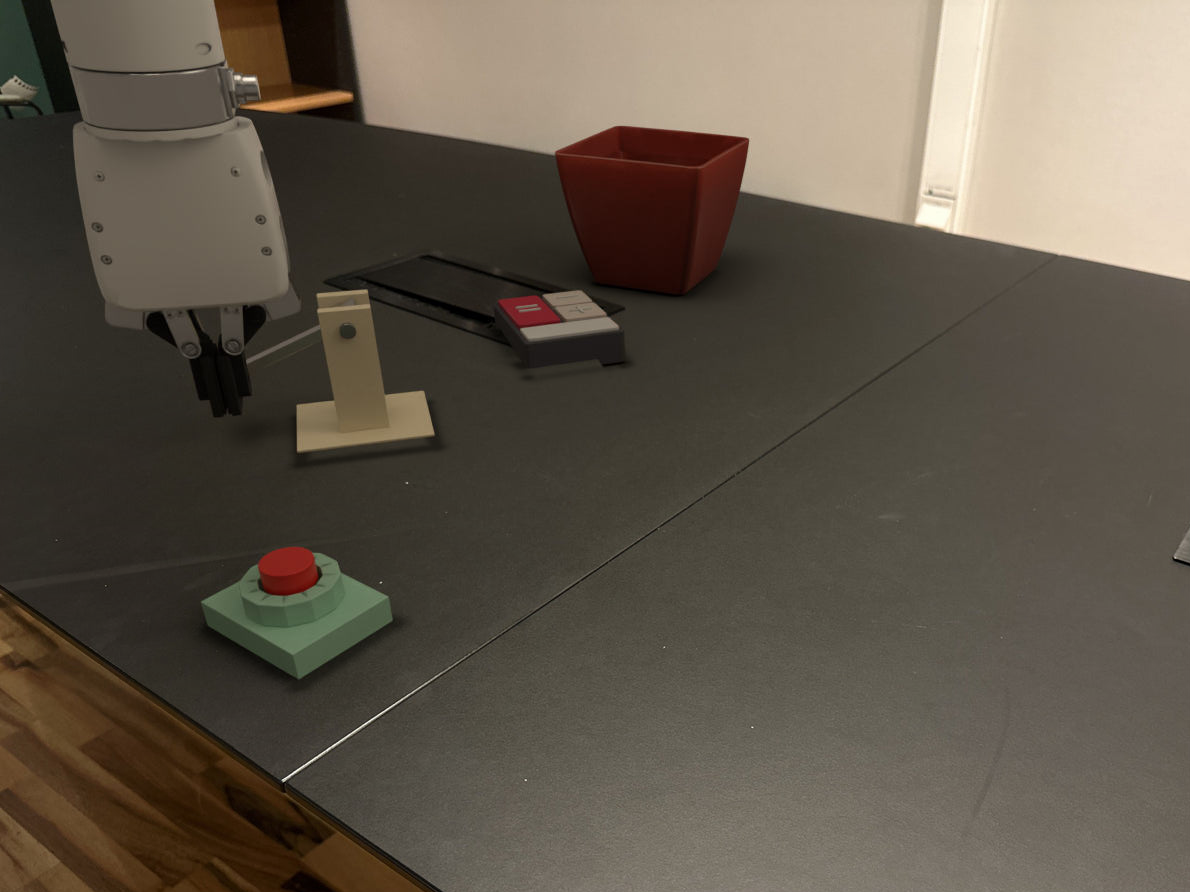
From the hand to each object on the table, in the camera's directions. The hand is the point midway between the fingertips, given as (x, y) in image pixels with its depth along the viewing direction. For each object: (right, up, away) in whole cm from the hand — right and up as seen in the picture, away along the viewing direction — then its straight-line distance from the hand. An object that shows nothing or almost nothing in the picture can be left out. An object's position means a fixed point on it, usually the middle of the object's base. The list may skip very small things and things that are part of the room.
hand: (229, 407), depth 66 cm
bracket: (-3, +2, +33) cm, 34 cm away
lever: (-7, +8, +28) cm, 30 cm away
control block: (+1, -14, +8) cm, 16 cm away
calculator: (+13, +14, +52) cm, 56 cm away
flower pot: (+23, +27, +73) cm, 81 cm away
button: (+2, -11, +6) cm, 13 cm away
